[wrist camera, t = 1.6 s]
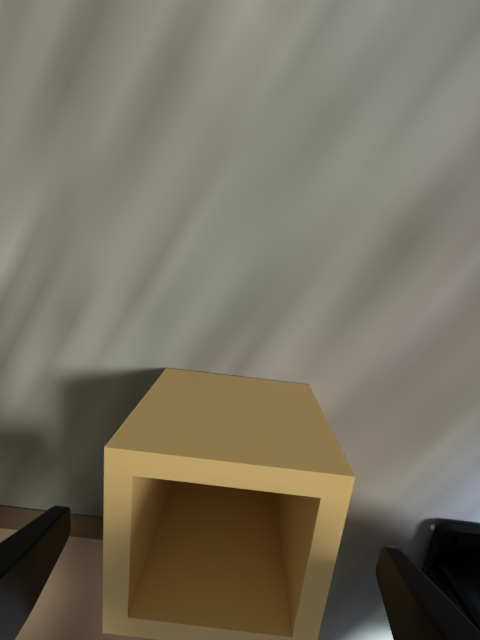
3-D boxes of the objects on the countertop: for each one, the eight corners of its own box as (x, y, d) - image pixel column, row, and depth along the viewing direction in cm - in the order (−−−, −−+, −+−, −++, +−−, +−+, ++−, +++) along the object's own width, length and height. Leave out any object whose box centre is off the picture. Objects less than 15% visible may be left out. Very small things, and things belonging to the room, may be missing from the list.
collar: (309, 384, 11) (355, 476, 6) (287, 504, 13) (313, 658, 8) (166, 368, 11) (103, 447, 6) (158, 489, 13) (102, 633, 8)
